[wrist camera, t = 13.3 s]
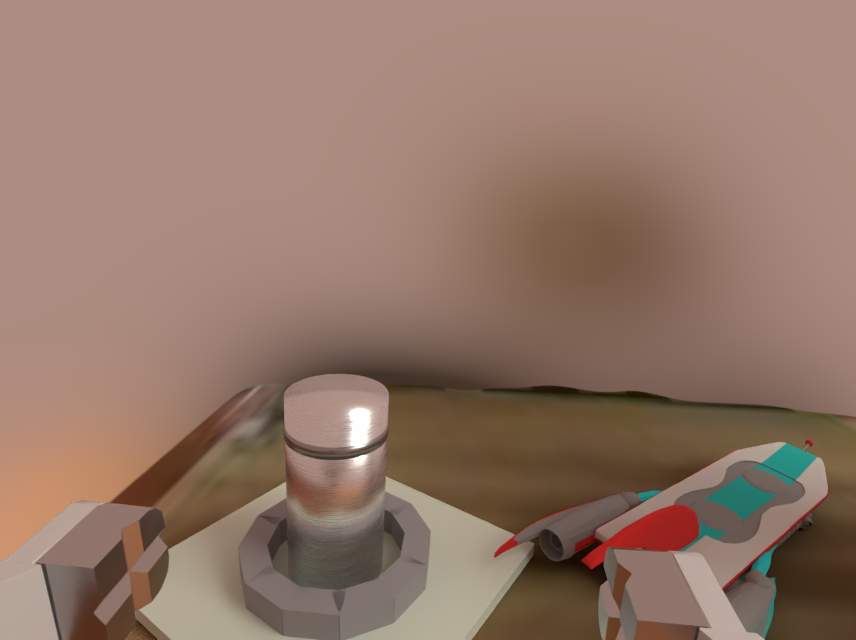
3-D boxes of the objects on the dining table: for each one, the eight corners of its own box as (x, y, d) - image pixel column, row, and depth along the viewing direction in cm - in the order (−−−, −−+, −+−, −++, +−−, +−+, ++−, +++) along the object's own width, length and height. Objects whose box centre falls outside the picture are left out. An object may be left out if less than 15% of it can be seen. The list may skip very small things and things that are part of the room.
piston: (335, 520, 32) (336, 366, 29) (402, 558, 29) (410, 392, 26) (266, 569, 28) (259, 395, 25) (336, 618, 25) (338, 429, 22)
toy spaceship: (699, 447, 46) (716, 393, 45) (856, 521, 38) (883, 458, 37) (487, 563, 28) (506, 480, 27) (700, 748, 20) (742, 643, 19)
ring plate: (335, 463, 40) (334, 435, 39) (533, 555, 31) (537, 521, 30) (111, 596, 27) (105, 558, 26) (343, 814, 18) (343, 766, 18)
